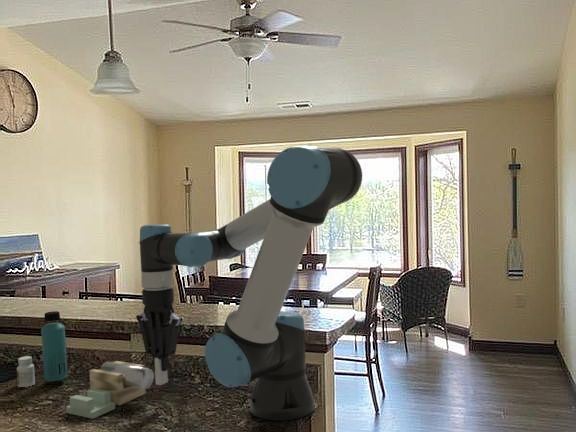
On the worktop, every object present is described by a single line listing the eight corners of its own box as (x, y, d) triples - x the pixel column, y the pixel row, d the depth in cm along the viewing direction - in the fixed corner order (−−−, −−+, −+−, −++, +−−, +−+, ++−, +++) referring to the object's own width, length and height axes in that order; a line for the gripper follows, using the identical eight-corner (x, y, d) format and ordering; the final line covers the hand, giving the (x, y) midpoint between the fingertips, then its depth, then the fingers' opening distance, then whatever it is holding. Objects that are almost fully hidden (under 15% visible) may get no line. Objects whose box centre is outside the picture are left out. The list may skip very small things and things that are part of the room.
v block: (115, 408, 142) (114, 392, 142) (92, 419, 136) (91, 402, 136) (89, 402, 146) (88, 387, 146) (66, 412, 140) (65, 396, 140)
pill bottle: (20, 383, 164) (19, 356, 164) (37, 382, 164) (35, 355, 164) (15, 388, 160) (13, 360, 159) (32, 387, 160) (30, 359, 160)
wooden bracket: (145, 393, 152) (144, 365, 152) (119, 405, 144) (118, 375, 144) (117, 388, 157) (116, 360, 156) (90, 399, 149) (89, 370, 148)
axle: (154, 385, 147) (153, 365, 147) (140, 391, 143) (139, 371, 143) (113, 378, 154) (113, 359, 154) (99, 384, 150) (98, 364, 150)
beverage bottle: (59, 386, 160) (56, 314, 159) (38, 386, 161) (34, 314, 160) (73, 379, 166) (69, 309, 165) (52, 378, 167) (48, 309, 166)
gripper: (188, 286, 142) (192, 382, 143) (148, 283, 148) (152, 375, 149) (168, 291, 135) (172, 391, 136) (126, 288, 142) (131, 384, 143)
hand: (161, 383), depth 143 cm, fingers closed
